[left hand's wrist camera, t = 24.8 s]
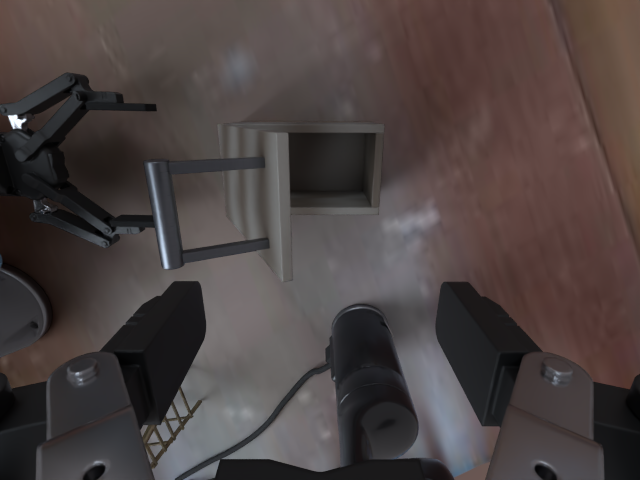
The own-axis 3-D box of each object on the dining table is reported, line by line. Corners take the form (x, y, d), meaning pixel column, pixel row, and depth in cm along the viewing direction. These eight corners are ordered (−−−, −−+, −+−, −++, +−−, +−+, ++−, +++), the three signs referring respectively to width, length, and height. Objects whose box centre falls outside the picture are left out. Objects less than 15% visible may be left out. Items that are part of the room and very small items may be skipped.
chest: (371, 121, 45) (384, 124, 36) (367, 195, 49) (378, 215, 39) (242, 121, 45) (222, 123, 36) (247, 195, 49) (230, 214, 39)
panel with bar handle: (288, 132, 20) (138, 136, 17) (292, 280, 24) (168, 308, 21) (225, 123, 36) (138, 124, 32) (233, 215, 39) (156, 224, 36)
